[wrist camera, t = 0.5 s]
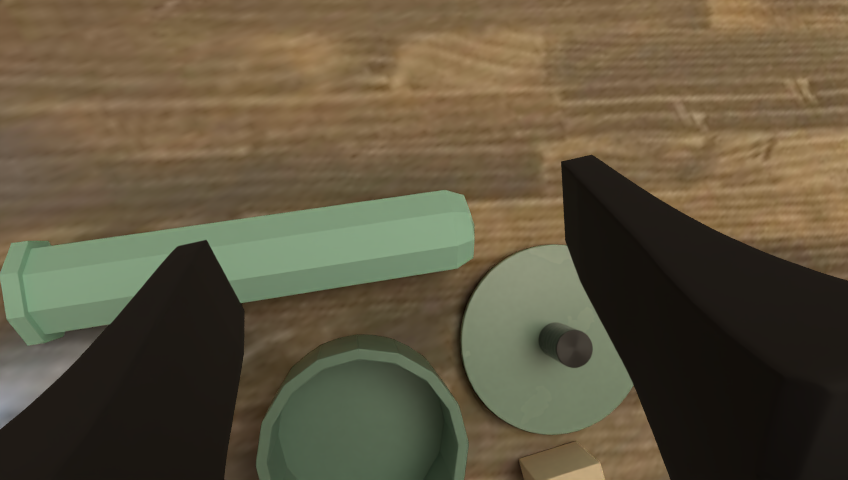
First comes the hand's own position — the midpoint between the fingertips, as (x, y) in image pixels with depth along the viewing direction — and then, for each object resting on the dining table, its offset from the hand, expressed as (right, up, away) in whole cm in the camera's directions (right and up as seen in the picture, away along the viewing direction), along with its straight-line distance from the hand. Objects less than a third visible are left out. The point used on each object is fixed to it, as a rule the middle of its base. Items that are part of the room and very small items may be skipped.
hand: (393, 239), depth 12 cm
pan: (-3, -11, +26) cm, 29 cm away
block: (+9, -15, +27) cm, 33 cm away
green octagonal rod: (-9, -1, +25) cm, 27 cm away
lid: (+9, -6, +27) cm, 29 cm away
